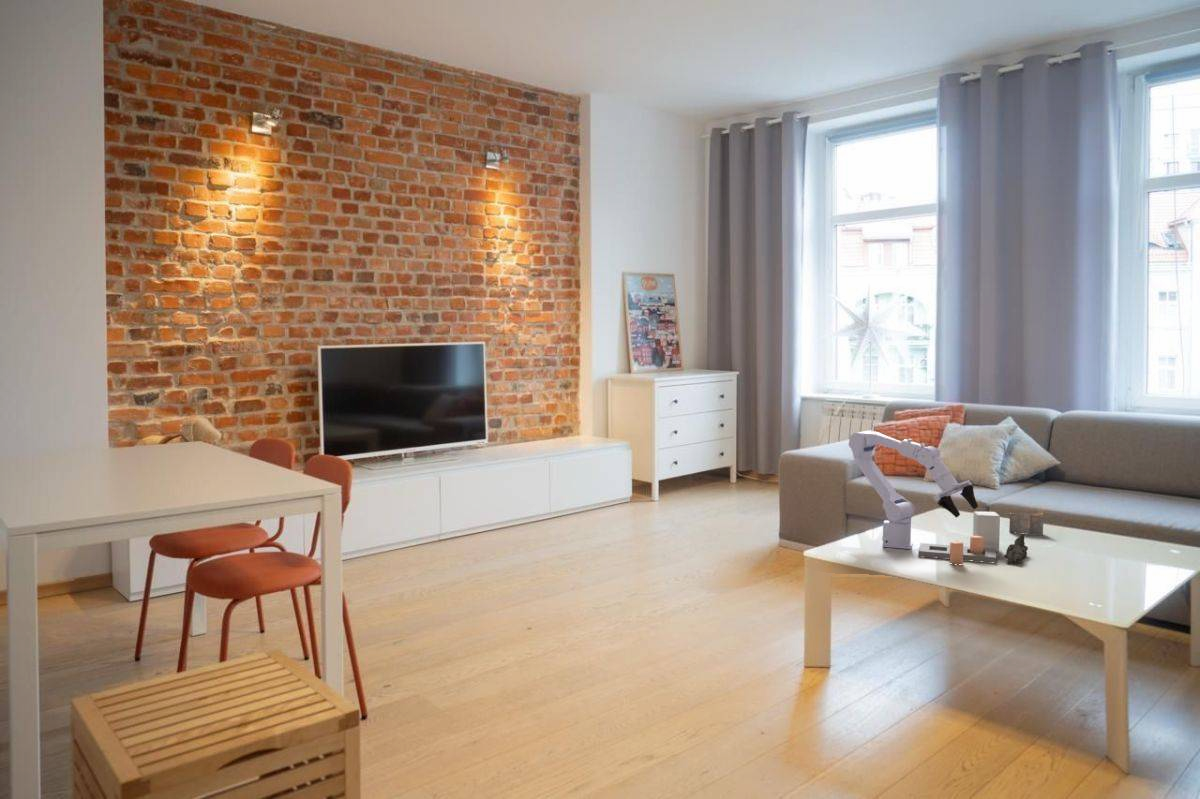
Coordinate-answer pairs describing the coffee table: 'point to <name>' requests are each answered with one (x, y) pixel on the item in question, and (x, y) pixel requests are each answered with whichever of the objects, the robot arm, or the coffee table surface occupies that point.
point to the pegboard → (944, 552)
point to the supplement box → (987, 528)
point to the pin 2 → (976, 544)
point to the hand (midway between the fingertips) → (967, 512)
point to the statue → (1016, 550)
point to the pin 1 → (956, 552)
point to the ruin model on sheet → (1027, 523)
